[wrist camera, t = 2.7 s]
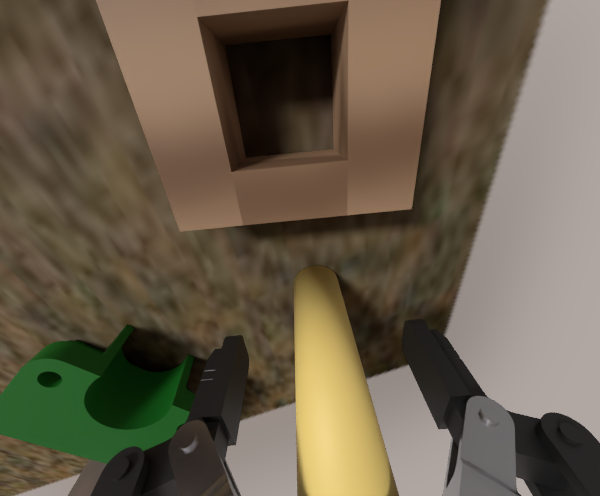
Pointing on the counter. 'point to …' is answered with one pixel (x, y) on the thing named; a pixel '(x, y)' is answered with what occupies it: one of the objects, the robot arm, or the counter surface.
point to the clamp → (94, 401)
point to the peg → (333, 398)
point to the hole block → (224, 118)
